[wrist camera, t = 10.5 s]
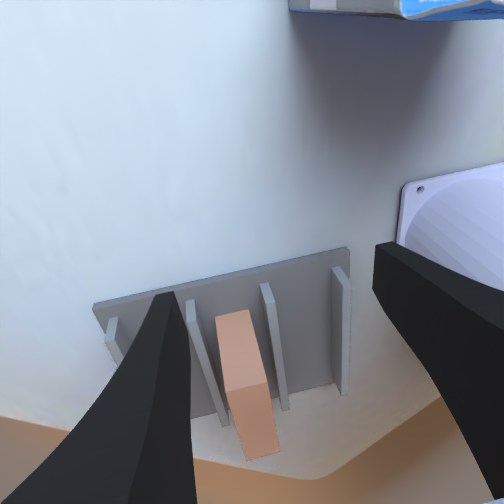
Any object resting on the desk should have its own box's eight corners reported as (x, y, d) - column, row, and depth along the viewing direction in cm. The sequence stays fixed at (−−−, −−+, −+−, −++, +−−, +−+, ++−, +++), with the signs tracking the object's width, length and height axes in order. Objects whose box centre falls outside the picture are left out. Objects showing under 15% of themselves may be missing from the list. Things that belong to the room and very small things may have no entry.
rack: (346, 246, 24) (362, 269, 22) (343, 373, 32) (356, 399, 30) (93, 303, 23) (85, 333, 21) (156, 421, 31) (155, 451, 29)
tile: (248, 308, 25) (267, 381, 20) (262, 378, 29) (280, 451, 24) (214, 316, 25) (225, 392, 20) (233, 385, 29) (246, 460, 24)
